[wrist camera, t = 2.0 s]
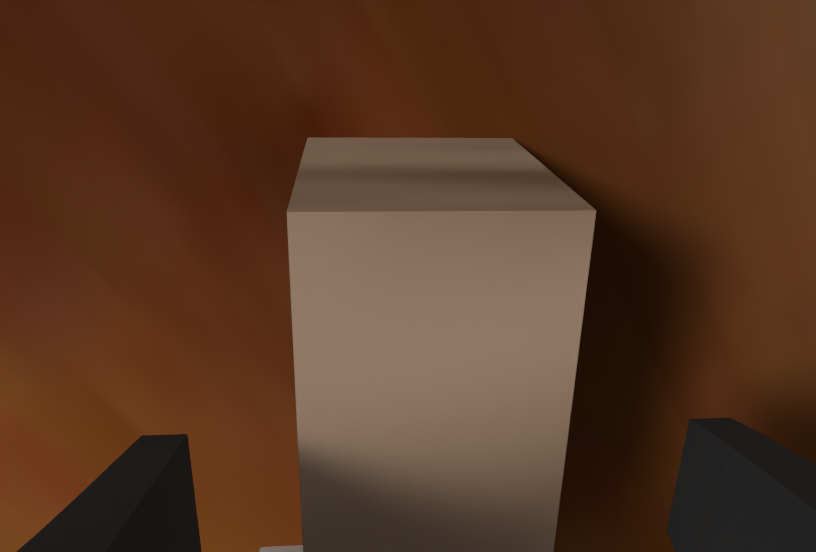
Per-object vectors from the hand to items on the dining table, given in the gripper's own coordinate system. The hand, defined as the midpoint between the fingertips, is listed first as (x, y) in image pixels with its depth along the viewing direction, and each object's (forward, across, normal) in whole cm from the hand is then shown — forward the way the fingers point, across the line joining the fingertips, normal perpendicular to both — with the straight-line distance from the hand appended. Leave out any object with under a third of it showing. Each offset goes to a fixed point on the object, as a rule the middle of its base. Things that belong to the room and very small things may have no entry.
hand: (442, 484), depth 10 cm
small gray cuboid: (+5, 0, +1) cm, 5 cm away
